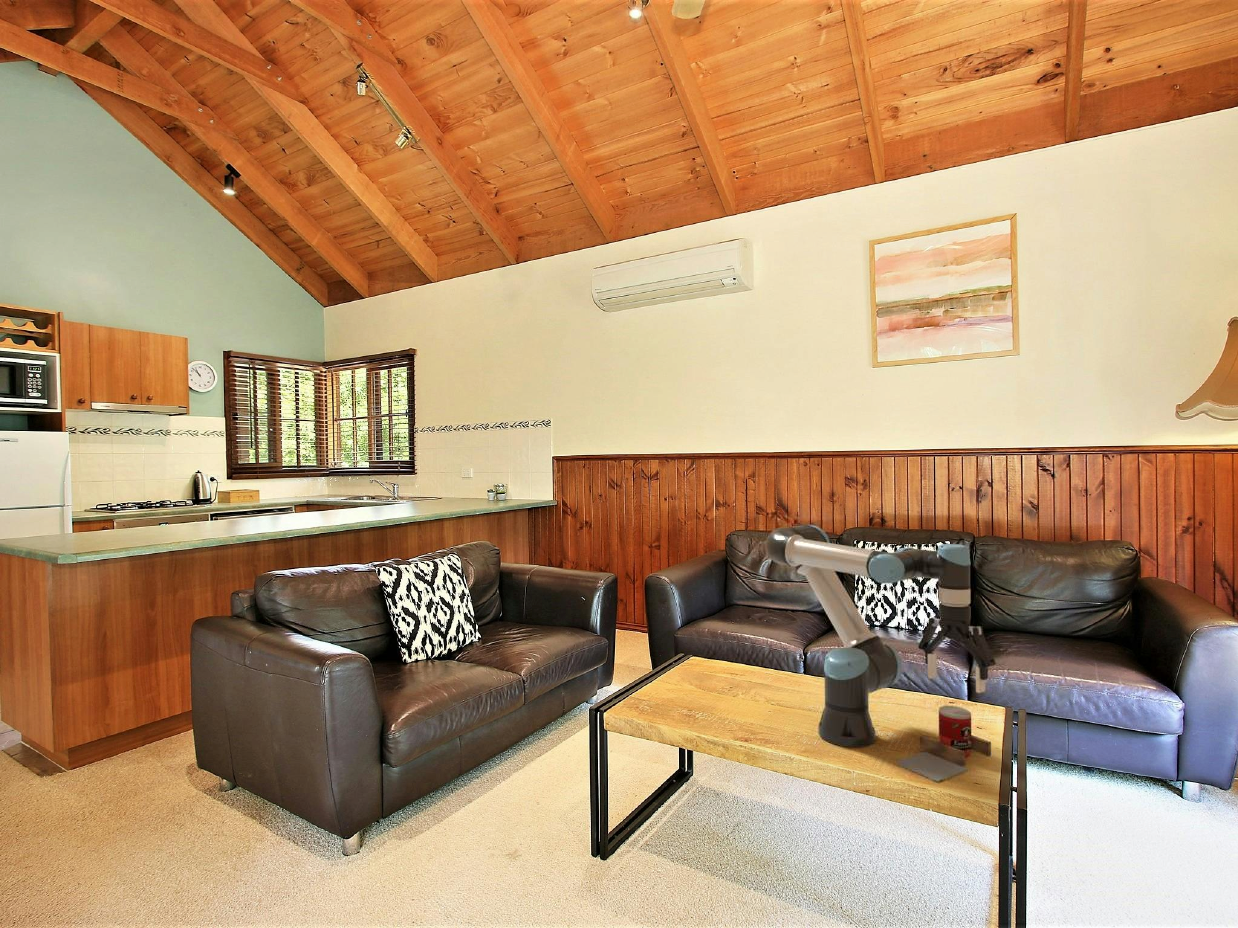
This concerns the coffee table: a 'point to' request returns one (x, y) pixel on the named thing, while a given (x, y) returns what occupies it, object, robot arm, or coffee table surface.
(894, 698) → the coffee table surface
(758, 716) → the coffee table surface
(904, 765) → the mat
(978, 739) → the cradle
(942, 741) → the canned food
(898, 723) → the coffee table surface
